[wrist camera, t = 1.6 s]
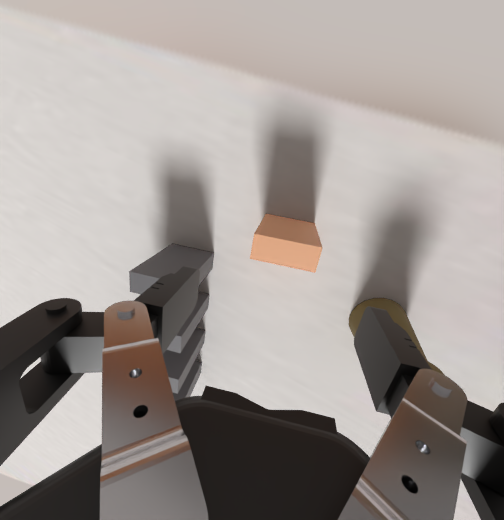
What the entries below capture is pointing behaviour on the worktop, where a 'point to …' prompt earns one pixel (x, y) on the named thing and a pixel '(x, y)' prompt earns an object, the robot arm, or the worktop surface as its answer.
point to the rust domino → (287, 243)
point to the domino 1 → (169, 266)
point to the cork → (396, 315)
